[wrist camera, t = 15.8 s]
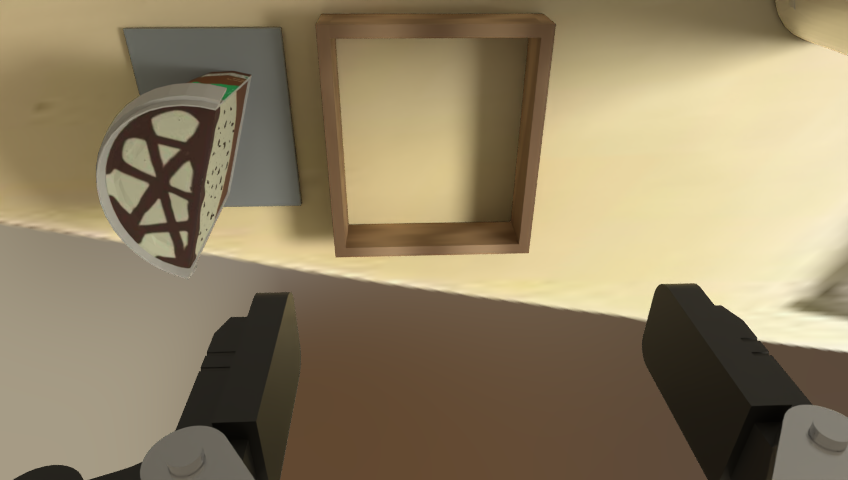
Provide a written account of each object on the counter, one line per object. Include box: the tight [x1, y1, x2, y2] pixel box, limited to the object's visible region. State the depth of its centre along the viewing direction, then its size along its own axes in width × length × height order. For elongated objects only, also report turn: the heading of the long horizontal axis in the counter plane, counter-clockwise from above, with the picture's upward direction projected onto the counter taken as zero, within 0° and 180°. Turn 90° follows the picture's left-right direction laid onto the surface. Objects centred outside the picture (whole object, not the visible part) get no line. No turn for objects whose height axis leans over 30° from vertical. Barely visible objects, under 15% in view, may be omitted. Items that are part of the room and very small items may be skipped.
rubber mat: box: [123, 27, 302, 207], centre depth 41 cm, size 10×13×1 cm
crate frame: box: [316, 14, 556, 257], centre depth 41 cm, size 15×17×4 cm
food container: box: [96, 71, 252, 279], centre depth 36 cm, size 12×6×10 cm, turn 161°
